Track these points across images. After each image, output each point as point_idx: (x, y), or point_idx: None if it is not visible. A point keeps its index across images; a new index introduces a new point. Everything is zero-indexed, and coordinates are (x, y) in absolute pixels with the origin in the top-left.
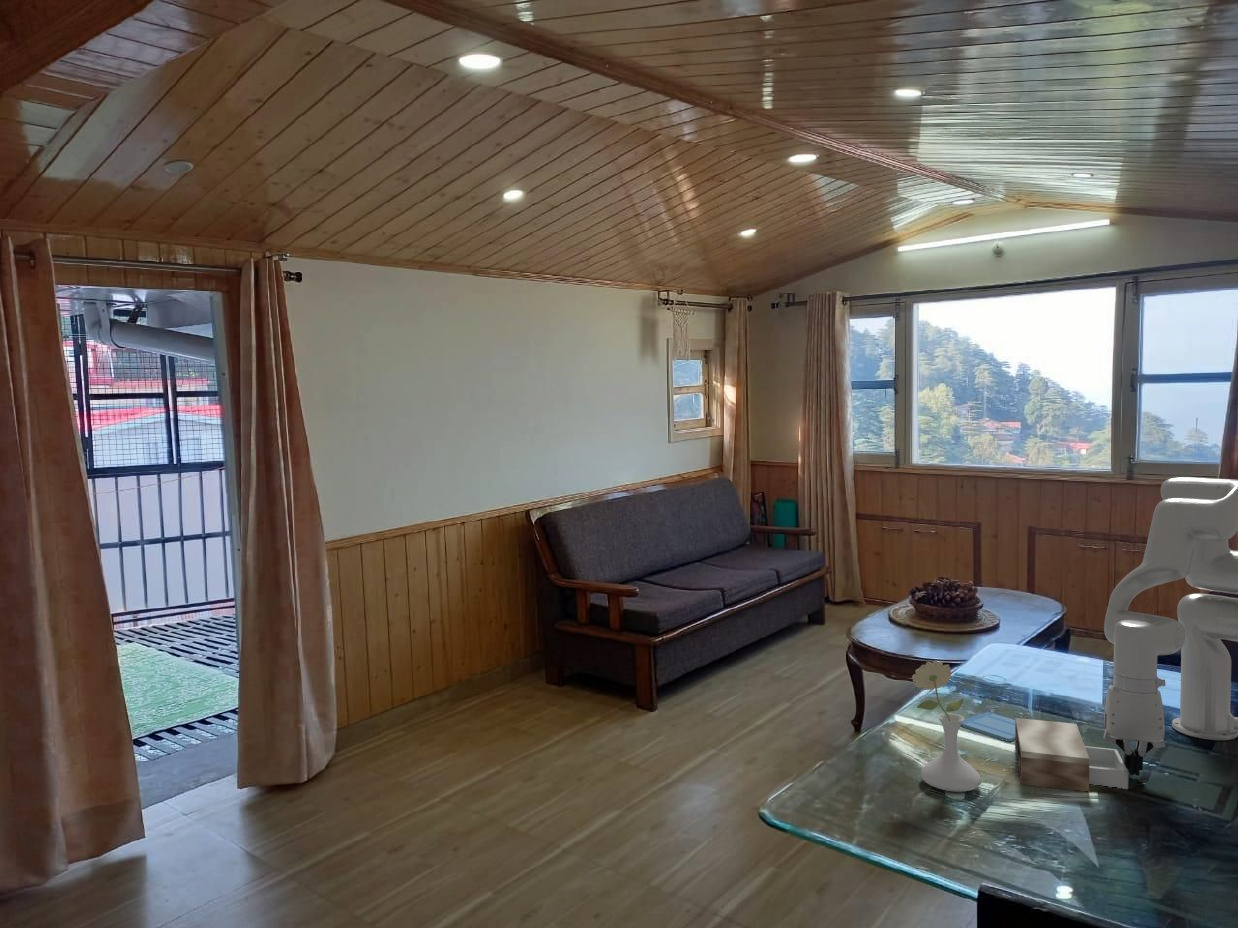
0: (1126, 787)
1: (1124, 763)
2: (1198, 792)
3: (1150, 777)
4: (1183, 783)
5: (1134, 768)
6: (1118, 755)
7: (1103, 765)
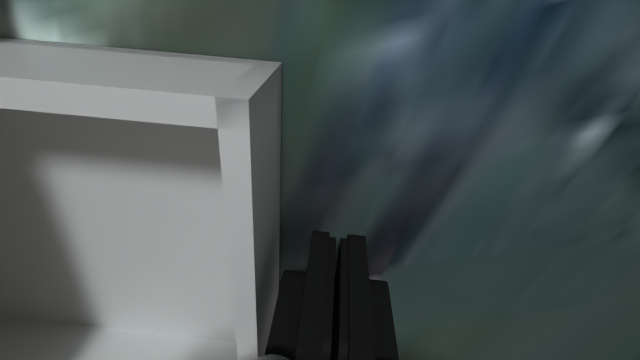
0: None
1: (281, 280)
2: (585, 336)
3: (440, 216)
4: (589, 262)
5: (333, 307)
6: (242, 250)
7: (182, 140)
